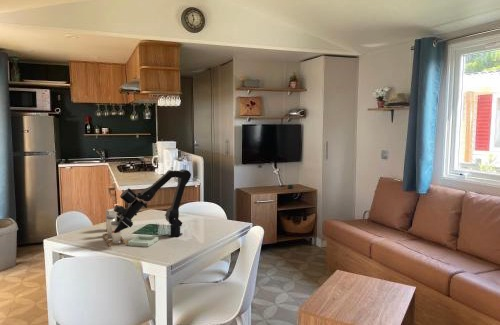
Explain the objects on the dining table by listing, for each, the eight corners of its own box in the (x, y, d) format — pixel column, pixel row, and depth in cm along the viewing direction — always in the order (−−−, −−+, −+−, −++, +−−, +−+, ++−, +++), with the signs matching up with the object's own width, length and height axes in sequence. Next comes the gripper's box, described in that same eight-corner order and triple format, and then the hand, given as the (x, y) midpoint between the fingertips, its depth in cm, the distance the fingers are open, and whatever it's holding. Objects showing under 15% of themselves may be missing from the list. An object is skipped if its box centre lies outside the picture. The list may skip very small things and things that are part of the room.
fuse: (110, 234, 226) (109, 214, 225) (117, 235, 225) (117, 215, 224) (105, 237, 222) (104, 216, 221) (112, 237, 221) (112, 217, 220)
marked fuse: (114, 241, 212) (114, 220, 211) (122, 242, 211) (122, 221, 210) (110, 244, 208) (109, 222, 207) (117, 244, 207) (117, 223, 206)
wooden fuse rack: (102, 235, 225) (102, 233, 225) (121, 233, 230) (121, 231, 230) (109, 246, 204) (109, 244, 204) (129, 243, 209) (129, 241, 209)
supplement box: (118, 228, 242) (118, 207, 241) (122, 229, 239) (121, 208, 237) (106, 230, 236) (105, 209, 235) (109, 231, 233) (108, 210, 232)
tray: (138, 239, 217) (138, 235, 217) (158, 240, 215) (158, 237, 215) (127, 245, 206) (127, 241, 206) (148, 247, 203) (148, 243, 203)
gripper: (119, 197, 217) (99, 218, 213) (126, 202, 201) (104, 225, 197) (134, 209, 222) (114, 230, 218) (141, 215, 205) (120, 238, 201)
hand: (113, 230), depth 208 cm, fingers open, 7 cm apart
